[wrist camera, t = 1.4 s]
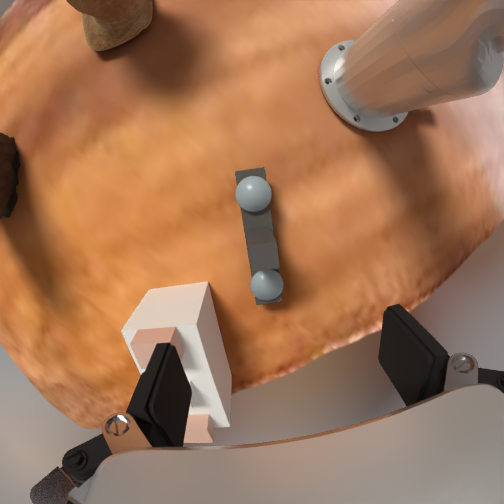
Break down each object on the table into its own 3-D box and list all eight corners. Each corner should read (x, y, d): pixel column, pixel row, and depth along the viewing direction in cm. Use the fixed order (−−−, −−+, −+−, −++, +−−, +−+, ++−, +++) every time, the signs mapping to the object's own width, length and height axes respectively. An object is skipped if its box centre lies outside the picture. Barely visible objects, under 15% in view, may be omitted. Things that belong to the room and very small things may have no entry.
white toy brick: (208, 281, 34) (192, 340, 22) (231, 376, 38) (229, 441, 26) (149, 289, 34) (111, 344, 22) (181, 379, 38) (167, 442, 26)
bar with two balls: (264, 167, 30) (273, 166, 21) (281, 289, 34) (292, 326, 26) (233, 171, 30) (229, 172, 21) (252, 293, 34) (256, 332, 26)
